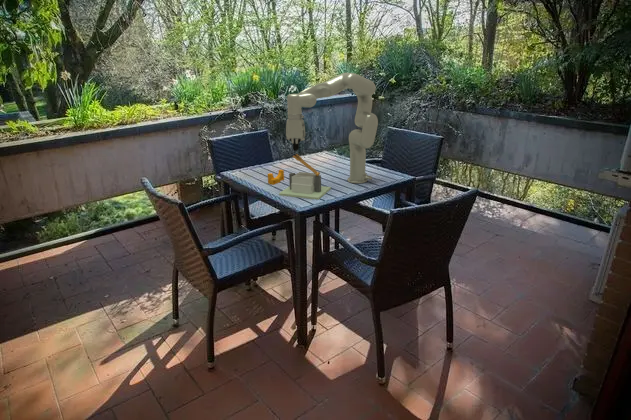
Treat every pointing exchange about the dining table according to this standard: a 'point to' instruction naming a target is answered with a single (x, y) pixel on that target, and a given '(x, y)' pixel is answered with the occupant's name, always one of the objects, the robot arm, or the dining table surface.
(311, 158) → the dining table surface
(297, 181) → the board
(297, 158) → the strap
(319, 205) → the dining table surface
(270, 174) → the pipe clamp
